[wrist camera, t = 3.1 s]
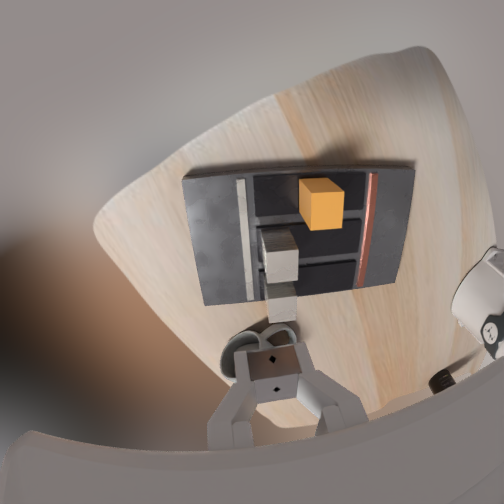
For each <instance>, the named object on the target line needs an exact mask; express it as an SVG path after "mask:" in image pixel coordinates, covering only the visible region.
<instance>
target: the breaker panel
mask: <svg viewBox="0 0 504 504" xmlns="http://www.w3.org/2000/svg"><path fill="white" fill-rule="evenodd" d="M414 177H415V170H414V169H412V168H410V167H408V166H381V165H323V166H294V167H276V168H261V169H248V170H236V171H226V172H216V173H207V174H198V175H190V176H184V177H183V179H182V187H183V193H184V199H185V206H186V212H187V217H188V223H189V229H190V235H191V240H192V246H193V251H194V256H195V261H196V266H197V271H198V276H199V281H200V286H201V291H202V295H203V300H204V305H205V306H209V305H222V304H233V303H244V302H254V301H264V300H265V303H266V308H267V314H268V320H269V323H277V322H285V321H293V320H296V310H297V297H299V296H307V295H315V294H323V293H330V292H338V291H345V290H352V289H358V288H365V287H371V286H378V285H384V284H390V283H395V280H396V276H397V272H398V268H399V264H400V259H401V255H402V250H403V245H404V241H405V235H406V230H407V225H408V219H409V213H410V207H411V200H412V193H413V185H414ZM309 178H329V179H330V180H331V181H332V182H334V183H335V184H336V185H337V186H338V187H340V188H341V189H342V190H343V191H344V206H343V219H342V228H337V229H324V230H312V231H311V230H310V229H309V227H308V225H307V224H306V222H305V220H304V219H303V217H302V216H301V214H300V212H299V179H309Z"/></svg>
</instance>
